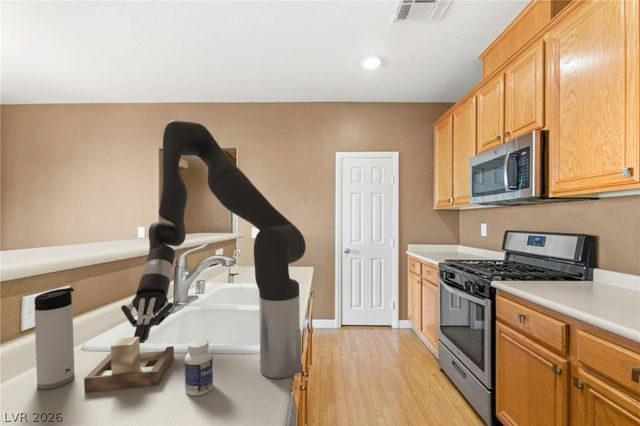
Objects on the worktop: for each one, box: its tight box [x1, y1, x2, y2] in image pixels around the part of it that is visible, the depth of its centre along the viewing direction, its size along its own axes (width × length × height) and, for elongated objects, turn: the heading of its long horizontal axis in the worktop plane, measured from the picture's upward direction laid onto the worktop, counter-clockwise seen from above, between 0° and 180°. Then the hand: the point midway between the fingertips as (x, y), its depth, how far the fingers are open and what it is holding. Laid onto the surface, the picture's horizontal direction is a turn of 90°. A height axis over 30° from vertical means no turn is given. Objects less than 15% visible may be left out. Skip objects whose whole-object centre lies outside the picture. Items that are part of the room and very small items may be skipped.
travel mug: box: [34, 286, 76, 390], centre depth 68 cm, size 6×7×20 cm
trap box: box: [83, 345, 175, 394], centre depth 71 cm, size 14×12×3 cm
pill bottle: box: [184, 338, 214, 397], centre depth 65 cm, size 5×5×10 cm
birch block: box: [110, 336, 141, 375], centre depth 68 cm, size 4×4×7 cm
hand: (140, 341), depth 76 cm, fingers closed
